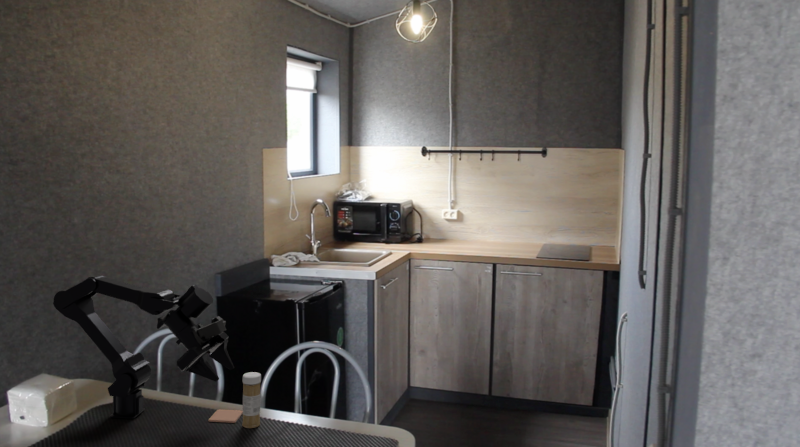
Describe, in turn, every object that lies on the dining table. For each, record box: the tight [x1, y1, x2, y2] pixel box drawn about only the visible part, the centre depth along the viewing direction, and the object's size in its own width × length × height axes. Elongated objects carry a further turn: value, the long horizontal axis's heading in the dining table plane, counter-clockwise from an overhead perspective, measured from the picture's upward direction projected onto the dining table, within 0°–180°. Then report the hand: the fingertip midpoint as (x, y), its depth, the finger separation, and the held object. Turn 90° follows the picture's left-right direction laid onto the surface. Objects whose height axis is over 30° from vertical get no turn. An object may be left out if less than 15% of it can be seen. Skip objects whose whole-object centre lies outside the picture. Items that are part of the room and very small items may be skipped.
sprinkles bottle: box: [241, 371, 262, 429], centre depth 152 cm, size 5×5×13 cm
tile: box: [208, 408, 243, 424], centre depth 157 cm, size 7×7×1 cm
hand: (225, 374), depth 153 cm, fingers open, 9 cm apart
